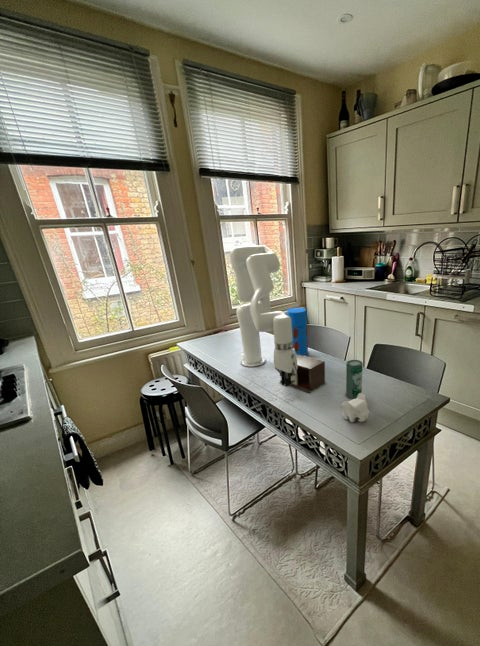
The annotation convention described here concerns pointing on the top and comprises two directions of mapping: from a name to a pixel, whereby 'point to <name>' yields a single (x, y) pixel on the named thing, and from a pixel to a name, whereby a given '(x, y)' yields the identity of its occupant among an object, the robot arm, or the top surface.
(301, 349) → the blue tall cylinder
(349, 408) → the elephant figurine
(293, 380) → the door
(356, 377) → the can
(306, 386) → the cabinet
